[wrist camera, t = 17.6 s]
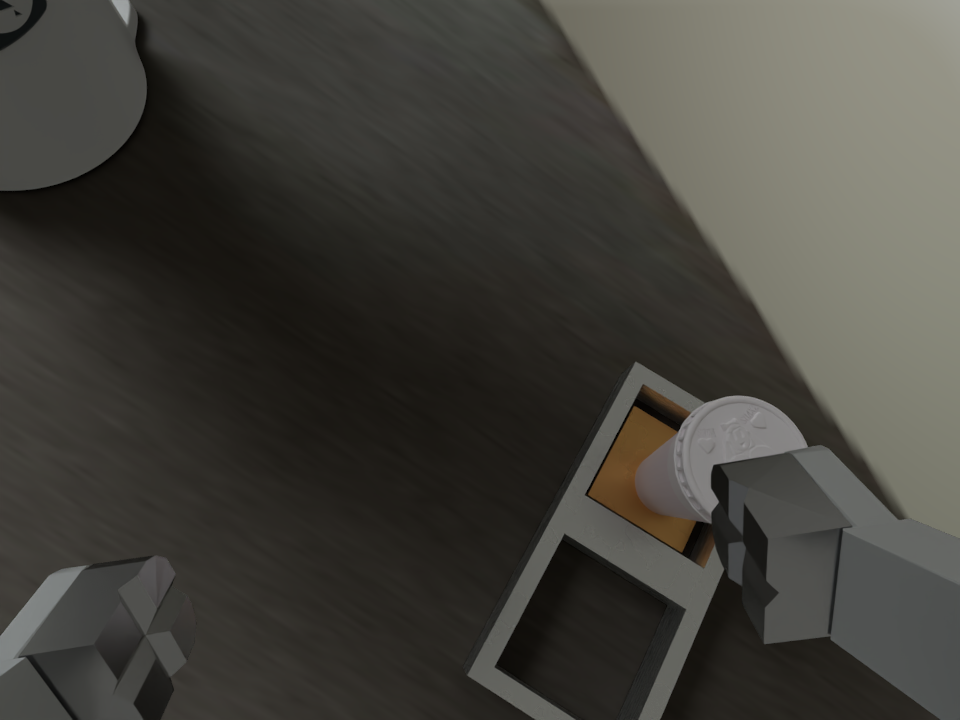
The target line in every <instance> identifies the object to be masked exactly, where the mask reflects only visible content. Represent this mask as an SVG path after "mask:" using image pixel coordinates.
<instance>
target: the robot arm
mask: <svg viewBox="0 0 960 720" xmlns="http://www.w3.org/2000/svg"><path fill="white" fill-rule="evenodd" d="M137 25H138V16H137V12H136V10H135V8H134V7H133V5H132V4H131V2H130V1H129V0H0V191H19V190H31V189H38V188H43V187H48V186H52V185H56V184H59V183H62V182H65V181H68V180H71V179H73V178H76V177H78V176H80V175H82V174H84V173H86V172H88V171H90V170H92V169H93V168H95V167H97V166H98V165H100V164H101V163H103V162H104V161H105V160H107V159H108V158H109V157H110V156H112V155H113V154H114V153H115V152H116V151H117V150H118V149H119V148H120V147H121V146H122V145H123V144H124V143H125V142H126V141H127V139H128V138H129V137H130V135H131V134H132V133H133V131H134V129H135V128H136V126H137V124H138V122H139V120H140V118H141V115H142V113H143V110H144V106H145V102H146V95H147V82H146V75H145V71H144V68H143V65H142V62H141V60H140V57H139V55H138V52H137V49H136V45H135V38H136V32H137ZM711 489H712V491H713V492H714V494H715V496H716V498H717V499H718V501H719V503H718V504H717V505H716V507H715V508H714V509H713V511H712V512H711V519H712V533H713V537H714V542H715V547H716V551H717V553H718V556H719V558H720V561H721V564H722V566H723V568H724V570H725V572H726V574H727V576H728V578H730V579H731V580H733V581H735V582H736V583H738V584H740V585H741V586H742V604H743V606H744V608H745V610H746V612H747V614H748V615H749V617H750V619H751V621H752V623H753V625H754V627H755V628H756V630H757V632H758V634H759V636H760V638H761V640H762V642H763V643H764V644H770V643H778V642H786V641H795V640H803V639H811V638H820V637H828V636H831V639H830V640H832V641H833V642H835V643H836V644H837V645H839V646H840V647H841V648H843V649H844V650H846V651H847V652H848V653H850V654H851V655H852V656H854V657H855V658H857V659H858V660H859V661H861V662H862V663H863V664H865V665H866V666H868V667H869V668H870V669H872V670H873V671H874V672H876V673H877V674H879V675H880V676H881V677H883V678H884V679H885V680H887V681H888V682H890V683H891V684H892V685H894V686H895V687H896V688H898V689H899V690H901V691H902V692H903V693H905V694H906V695H907V696H909V697H910V698H912V699H913V700H914V701H916V702H917V703H918V704H920V705H921V706H923V707H924V708H925V709H927V710H928V711H929V712H931V713H932V714H934V715H935V716H936V717H938V718H939V719H940V720H960V538H957V537H955V536H952V535H950V534H947V533H945V532H942V531H940V530H937V529H935V528H932V527H930V526H927V525H925V524H922V523H920V522H918V521H915V520H913V519H905V520H898V519H897V518H896V517H895V516H894V515H893V514H892V513H891V512H890V511H889V510H888V509H887V508H886V507H885V506H884V505H883V504H882V503H881V502H880V501H879V500H878V499H877V498H876V497H875V496H874V495H873V494H872V493H871V492H870V491H869V490H868V488H867V487H866V486H865V485H864V484H863V483H862V482H861V481H860V480H859V479H858V478H857V477H856V476H855V475H854V474H853V473H852V472H851V471H850V470H849V469H848V468H847V467H846V466H845V465H844V464H843V463H842V462H841V461H840V460H839V459H838V458H837V457H836V456H835V455H834V454H833V453H832V452H831V451H830V450H829V449H828V448H826V447H824V446H821V445H818V446H813V447H808V448H802V449H797V450H792V451H786V452H784V453H781V454H775V455H769V456H763V457H757V458H751V459H745V460H739V461H733V462H727V463H721V464H715V465H713V468H712V471H711ZM175 575H176V574H175V572H174V570H173V569H172V567H171V565H170V564H169V562H168V560H167V559H166V558H164V557H160V556H156V555H155V556H147V557H140V558H133V559H126V560H119V561H112V562H104V563H97V564H93V565H86V566H79V567H72V568H66V569H61V570H59V571H57V572H55V573H53V574H51V575H49V576H48V577H47V579H46V580H45V581H44V582H43V584H42V585H41V586H40V587H39V589H38V590H37V591H36V592H35V594H34V595H33V596H32V597H31V599H30V600H29V601H28V602H27V604H26V605H25V606H24V607H23V609H22V610H21V611H20V612H19V614H18V615H17V616H16V617H15V619H14V620H13V621H12V622H11V624H10V625H9V626H8V627H7V629H6V630H5V631H4V632H3V634H2V635H1V636H0V720H161V717H162V715H163V713H164V711H165V709H166V706H167V704H168V702H169V700H170V698H171V695H172V693H173V691H174V688H173V684H172V681H171V678H170V677H171V676H172V675H173V674H174V673H175V672H176V671H177V670H178V669H179V668H180V667H181V666H182V665H184V664H185V663H186V662H187V660H188V657H189V655H190V653H191V650H192V648H193V646H194V643H195V634H196V625H197V622H196V617H195V612H194V608H193V606H192V604H191V602H190V600H189V598H188V596H187V595H185V594H184V593H182V592H180V591H179V590H177V589H175V588H174V587H172V584H173V581H174V578H175Z"/></svg>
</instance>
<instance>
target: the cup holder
mask: <svg viewBox="0 0 960 720" xmlns="http://www.w3.org/2000/svg"><path fill="white" fill-rule="evenodd" d="M635 398H636V399H638V400H639V401H641V402H643V403H644V404H646V405H648V406H649V407H651V408H653V409H654V410H656V411H658V412H659V413H661V414H663V415H664V416H666V417H668V418H669V419H671V420H672V421H674V422H676V423H677V424H679V425H682V423H683V422H684V421H685V420H686V419H687V417H688V416H689V415H690V414H691V413H692V412H693V411H694V410H695V409H697V408H699V407H700V406H702V405H703V404H705V403H704V402H702V401H701V400H699V399H697V398H696V397H694V396H692V395H691V394H689V393H687V392H686V391H684V390H682V389H681V388H679V387H677V386H676V385H674V384H672V383H671V382H669V381H667V380H666V379H664V378H662V377H661V376H659V375H657V374H656V373H654V372H652V371H651V370H649V369H647V368H646V367H644V366H642V365H641V364H639V363H637V362H635V363H633V364H632V365H631V366H630V367H628V368H627V369H626V370H625V371H624V372H622V374H621V375H620V377H619V379H618V381H617V383H616V385H615V386H614V388H613V390H612V392H611V394H610V396H609V398H608V399H607V401H606V403H605V405H604V407H603V409H602V411H601V412H600V414H599V416H598V418H597V420H596V422H595V423H594V425H593V427H592V429H591V431H590V433H589V435H588V436H587V438H586V440H585V442H584V444H583V446H582V447H581V449H580V451H579V453H578V455H577V457H576V459H575V460H574V462H573V464H572V466H571V468H570V470H569V471H568V473H567V475H566V477H565V479H564V481H563V483H562V484H561V486H560V488H559V490H558V492H557V494H556V495H555V497H554V499H553V501H552V503H551V505H550V507H549V508H548V510H547V512H546V514H545V516H544V518H543V519H542V521H541V523H540V525H539V527H538V529H537V531H536V532H535V534H534V536H533V538H532V540H531V542H530V543H529V545H528V547H527V549H526V551H525V553H524V555H523V556H522V558H521V560H520V562H519V564H518V566H517V567H516V569H515V571H514V573H513V575H512V577H511V579H510V580H509V582H508V584H507V586H506V588H505V590H504V591H503V593H502V595H501V597H500V599H499V601H498V603H497V604H496V606H495V608H494V610H493V612H492V614H491V615H490V617H489V619H488V621H487V623H486V625H485V627H484V628H483V630H482V632H481V634H480V636H479V638H478V639H477V641H476V643H475V645H474V647H473V649H472V651H471V652H470V654H469V656H468V658H467V660H466V662H465V663H464V665H463V668H464V670H465V672H466V674H467V676H469V677H470V678H472V679H473V680H475V681H477V682H478V683H480V684H481V685H483V686H484V687H486V688H487V689H489V690H490V691H492V692H494V693H495V694H497V695H498V696H500V697H501V698H503V699H504V700H506V701H507V702H509V703H511V704H512V705H514V706H515V707H517V708H518V709H520V710H521V711H523V712H525V713H526V714H528V715H529V716H531V717H532V718H534V719H535V720H582V719H581V718H579V717H577V716H576V715H574V714H573V713H571V712H570V711H568V710H567V709H565V708H563V707H562V706H560V705H559V704H557V703H556V702H554V701H553V700H551V699H549V698H548V697H546V696H545V695H543V694H542V693H540V692H539V691H537V690H535V689H534V688H532V687H531V686H529V685H528V684H526V683H525V682H523V681H521V680H520V679H518V678H517V677H515V676H514V675H512V674H510V673H509V672H507V671H506V670H504V669H503V668H501V667H500V666H498V665H496V663H497V661H498V659H499V657H500V655H501V654H502V652H503V650H504V648H505V646H506V644H507V642H508V640H509V638H510V636H511V635H512V633H513V631H514V629H515V627H516V625H517V623H518V621H519V619H520V617H521V615H522V614H523V612H524V610H525V608H526V606H527V604H528V602H529V600H530V598H531V596H532V594H533V593H534V591H535V589H536V587H537V585H538V583H539V581H540V579H541V577H542V575H543V574H544V572H545V570H546V568H547V566H548V564H549V562H550V560H551V558H552V556H553V554H554V553H555V551H556V549H557V547H558V545H559V543H560V541H561V539H562V540H563V541H565V542H567V543H568V544H570V545H571V546H573V547H575V548H576V549H578V550H579V551H581V552H583V553H584V554H586V555H587V556H589V557H591V558H592V559H594V560H596V561H597V562H599V563H600V564H602V565H604V566H605V567H607V568H608V569H610V570H612V571H613V572H615V573H616V574H618V575H620V576H621V577H623V578H624V579H626V580H628V581H629V582H631V583H632V584H634V585H636V586H637V587H639V588H640V589H642V590H644V591H645V592H647V593H648V594H650V595H652V596H653V597H655V598H656V599H658V600H660V601H661V602H663V603H664V604H666V605H668V606H667V608H666V610H665V612H664V615H663V617H662V619H661V621H660V623H659V626H658V628H657V630H656V632H655V635H654V637H653V639H652V641H651V644H650V646H649V648H648V650H647V653H646V655H645V657H644V659H643V661H642V664H641V666H640V668H639V670H638V673H637V675H636V677H635V679H634V682H633V684H632V686H631V688H630V691H629V693H628V695H627V697H626V700H625V702H624V704H623V706H622V708H621V711H620V713H619V715H618V717H617V720H660V719H661V717H662V714H663V712H664V709H665V707H666V705H667V702H668V700H669V698H670V695H671V693H672V691H673V688H674V686H675V684H676V681H677V679H678V677H679V674H680V672H681V669H682V667H683V665H684V662H685V660H686V658H687V655H688V653H689V651H690V648H691V646H692V644H693V641H694V639H695V637H696V634H697V632H698V629H699V627H700V625H701V622H702V620H703V618H704V615H705V613H706V611H707V608H708V606H709V604H710V601H711V599H712V596H713V594H714V592H715V589H716V587H717V585H718V582H719V580H720V578H721V575H722V573H723V571H724V568H723V566H722V564H721V561H720V558H719V556H718V553H717V551H716V547H715V542H714V537H713V533H712V524H710V523H706V522H705V523H704V525H703V527H702V530H701V532H700V534H699V536H698V539H697V541H696V543H695V545H694V547H693V550H692V552H691V554H690V556H689V559H688V558H686V557H684V556H683V555H681V554H679V553H682V552H683V549H684V547H685V545H686V543H687V541H688V538H689V536H690V534H691V532H692V530H693V527H694V525H695V523H696V521H694V520H688V519H682V518H677V517H671V516H665V515H660V514H657V513H654V512H653V511H651V510H649V509H648V508H647V507H646V506H645V505H644V504H643V503H642V502H641V500H640V499H639V497H638V494H637V492H636V488H635V475H636V471H637V469H638V467H639V465H640V464H641V463H642V461H643V460H645V459H646V458H647V457H648V456H650V455H651V454H652V453H653V452H654V451H656V450H657V449H658V448H659V447H661V446H662V445H663V444H664V443H665V442H667V441H668V440H669V439H670V438H672V437H673V436H674V435H675V434H676V433H678V432H677V431H675V430H674V429H672V428H670V427H669V426H667V425H665V424H664V423H662V422H660V421H659V420H657V419H656V418H654V417H652V416H651V415H649V414H647V413H646V412H644V411H642V410H641V409H639V408H637V407H636V406H633V407H632V409H631V411H630V413H629V415H628V417H627V419H626V421H625V422H624V424H623V426H622V428H621V430H620V432H619V434H618V436H617V438H616V440H615V442H614V443H613V445H612V447H611V449H610V451H609V453H608V455H607V457H606V459H605V461H604V463H603V464H602V466H601V468H600V470H599V472H598V474H597V476H596V478H595V480H594V482H593V484H592V485H591V487H590V489H589V491H588V493H587V496H588V497H587V496H585V493H586V492H587V490H588V488H589V486H590V484H591V482H592V480H593V478H594V476H595V474H596V472H597V471H598V469H599V467H600V465H601V463H602V461H603V459H604V457H605V455H606V453H607V452H608V450H609V448H610V446H611V444H612V442H613V440H614V438H615V436H616V434H617V432H618V431H619V429H620V427H621V425H622V423H623V421H624V419H625V417H626V415H627V413H628V411H629V410H630V408H631V406H632V404H633V402H634V400H635ZM589 497H590V498H592V499H593V500H592V499H590V498H589ZM594 500H595V501H596V502H595V501H594ZM597 502H598V503H600V504H601V505H600V504H598V503H597ZM602 505H603V506H605V507H606V508H608V509H609V510H608V509H606V508H605V507H603V506H602ZM610 510H611V511H613V512H614V513H613V512H611V511H610ZM615 513H616V514H618V515H619V516H621V517H622V518H621V517H619V516H618V515H616V514H615ZM623 518H624V519H626V520H627V521H626V520H624V519H623ZM628 521H629V522H630V523H629V522H628ZM631 523H632V524H634V525H635V526H634V525H632V524H631ZM636 526H637V527H639V528H640V529H639V528H637V527H636ZM641 529H642V530H643V531H642V530H641ZM644 531H645V532H647V533H648V534H647V533H645V532H644ZM649 534H650V535H652V536H653V537H652V536H650V535H649ZM654 537H655V538H656V539H655V538H654ZM657 539H658V540H660V541H661V542H660V541H658V540H657ZM662 542H663V543H665V544H666V545H668V546H669V547H668V546H666V545H665V544H663V543H662ZM670 547H671V548H673V549H674V550H673V549H671V548H670ZM675 550H676V551H678V552H679V553H678V552H676V551H675Z"/></svg>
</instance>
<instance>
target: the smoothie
mask: <svg viewBox="0 0 960 720" xmlns="http://www.w3.org/2000/svg"><path fill="white" fill-rule="evenodd" d="M802 448H808V446H807V444H806V441H805V439H804V438H803V436H802V434H801V432H800V431H799V430H798V428H797V427H796V425H795V424H794V423H793V422H792V421H791V420H790V419H789V418H788V417H787V416H786V415H785V414H784V413H783V412H781V411H780V410H779V409H777V408H776V407H774V406H773V405H771V404H769V403H767V402H765V401H762V400H760V399H757V398H753V397H748V396H728V397H724V398H720V399H717V400H714V401H711V402H707V403H705V404H703V405H702V406H700V407H699V408H697V409H695V410H694V411H693V412H692V413H691V414H690V415H689V416H688V417H687V419H686V420H685V421H684V422H683V423H682V425H681V428H680V430H679V432H678V433H676V434H675V435H674V436H673V437H672V438H670V439H669V440H668V441H667V442H665V443H664V444H663V445H662V446H661V447H659V448H658V449H657V450H656V451H654V452H653V453H652V454H651V455H650V456H648V457H647V458H646V459H645V460H643V461H642V463H641V464H640V465H639V467H638V469H637V471H636V475H635V488H636V492H637V494H638V497H639V499H640V500H641V502H642V503H643V504H644V505H645V506H646V507H647V508H648V509H649V510H651V511H653V512H654V513H657V514H660V515H665V516H671V517H677V518H682V519H688V520H694V521H700V522H706V523H710V524H712V519H711V512H712V511H713V509H714V508H715V507H716V505H717V504H718V503H719V501H718V499H717V498H716V496H715V494H714V492H713V491H712V489H711V471H712V468H713V465H715V464H721V463H727V462H733V461H739V460H745V459H751V458H757V457H763V456H769V455H775V454H781V453H784V452H786V451H792V450H797V449H802Z"/></svg>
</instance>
